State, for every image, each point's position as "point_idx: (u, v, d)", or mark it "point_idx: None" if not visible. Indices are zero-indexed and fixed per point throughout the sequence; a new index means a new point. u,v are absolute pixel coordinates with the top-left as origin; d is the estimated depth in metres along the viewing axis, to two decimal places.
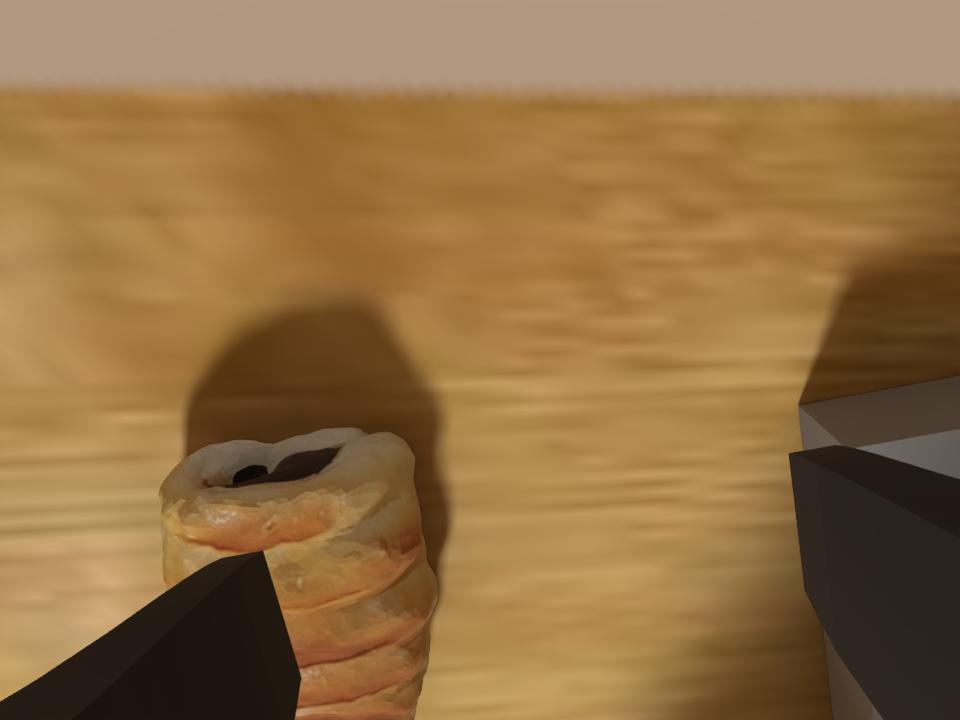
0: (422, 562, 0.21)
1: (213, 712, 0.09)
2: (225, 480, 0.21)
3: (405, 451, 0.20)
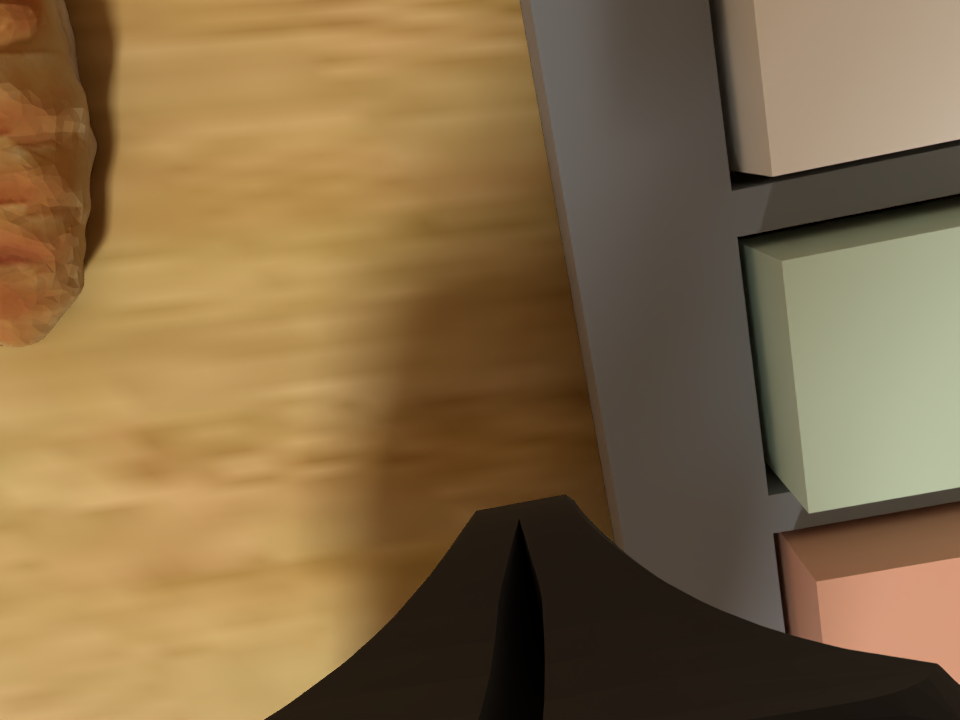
0: (52, 52, 0.17)
1: (528, 656, 0.09)
2: None
3: None
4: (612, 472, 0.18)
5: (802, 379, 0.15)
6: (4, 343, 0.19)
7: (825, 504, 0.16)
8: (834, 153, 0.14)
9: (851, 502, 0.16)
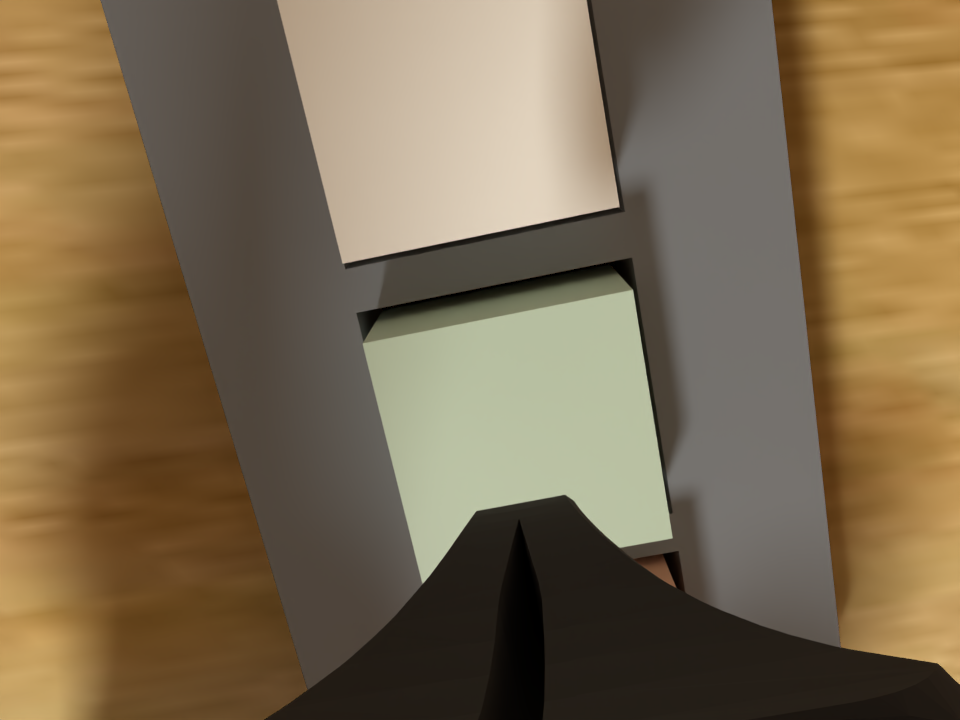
0: None
1: (528, 656, 0.09)
2: None
3: None
4: (262, 537, 0.18)
5: (397, 455, 0.16)
6: None
7: None
8: (399, 241, 0.15)
9: None
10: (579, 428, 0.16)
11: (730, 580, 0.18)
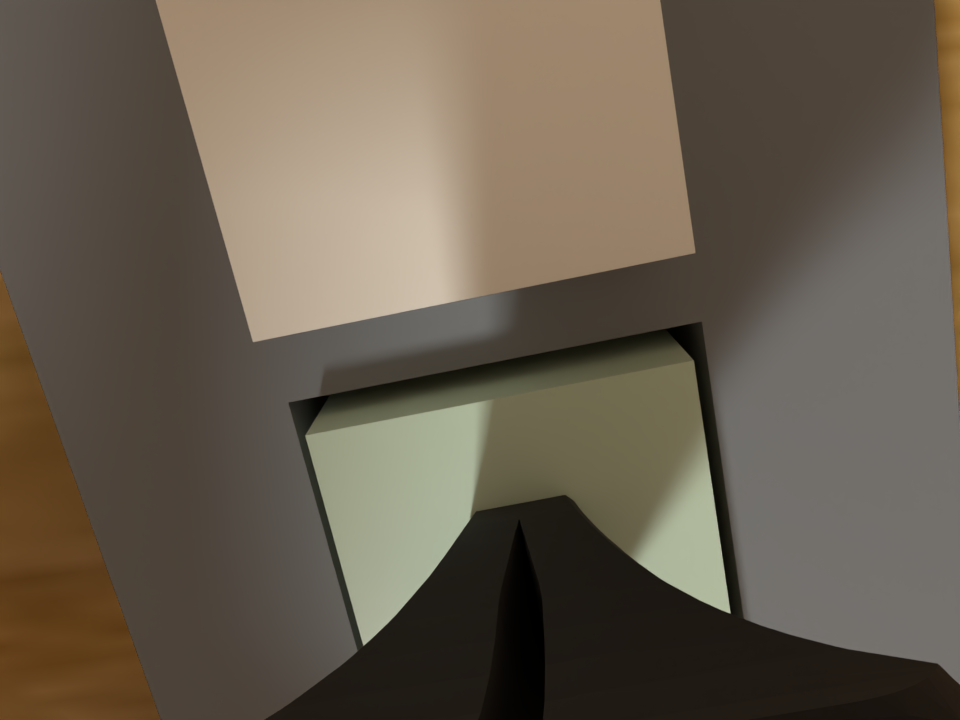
0: None
1: (529, 656, 0.09)
2: None
3: None
4: (160, 717, 0.13)
5: (358, 589, 0.11)
6: None
7: None
8: (343, 307, 0.09)
9: None
10: None
11: None
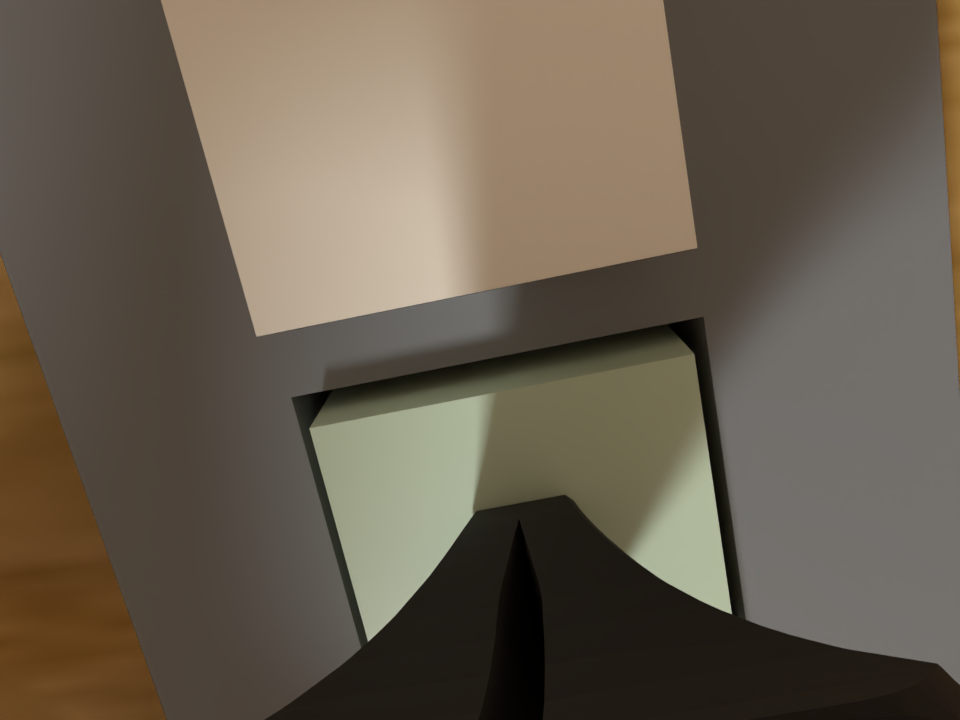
0: None
1: (529, 657, 0.09)
2: None
3: None
4: (164, 711, 0.13)
5: (361, 580, 0.11)
6: None
7: None
8: (346, 302, 0.09)
9: None
10: None
11: None
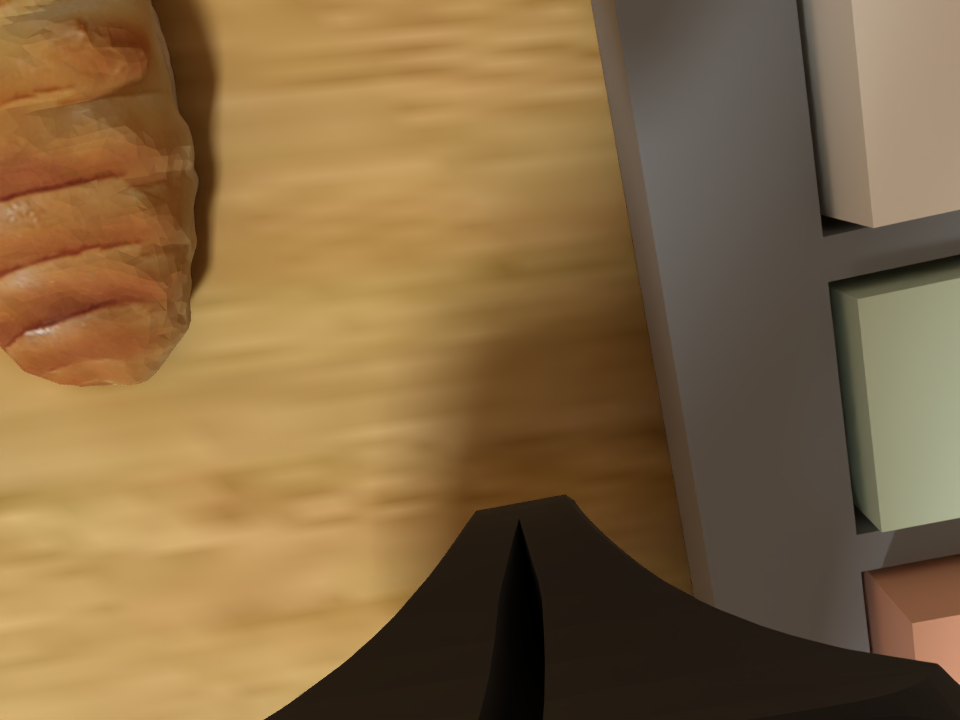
0: (160, 92, 0.17)
1: (528, 657, 0.09)
2: None
3: None
4: (701, 515, 0.18)
5: (875, 408, 0.17)
6: (116, 382, 0.19)
7: (897, 523, 0.17)
8: (935, 204, 0.14)
9: (921, 521, 0.17)
10: None
11: None
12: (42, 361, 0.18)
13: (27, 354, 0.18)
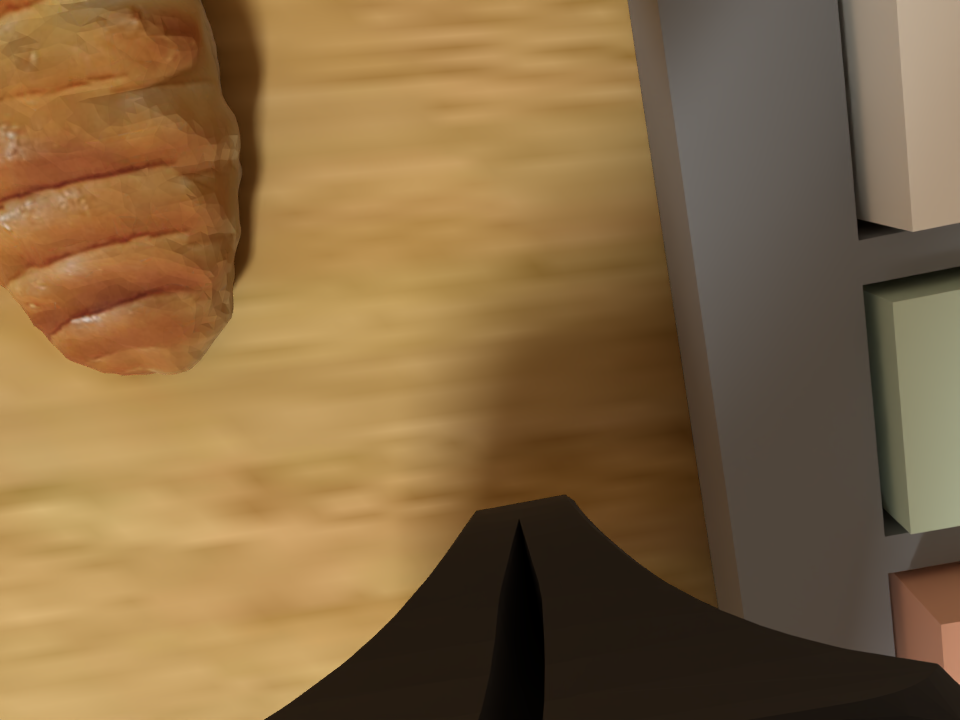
0: (209, 81, 0.17)
1: (529, 658, 0.09)
2: None
3: None
4: (731, 514, 0.18)
5: (908, 410, 0.17)
6: (159, 371, 0.19)
7: (927, 525, 0.17)
8: None
9: (950, 524, 0.17)
10: None
11: None
12: (87, 349, 0.18)
13: (72, 342, 0.18)
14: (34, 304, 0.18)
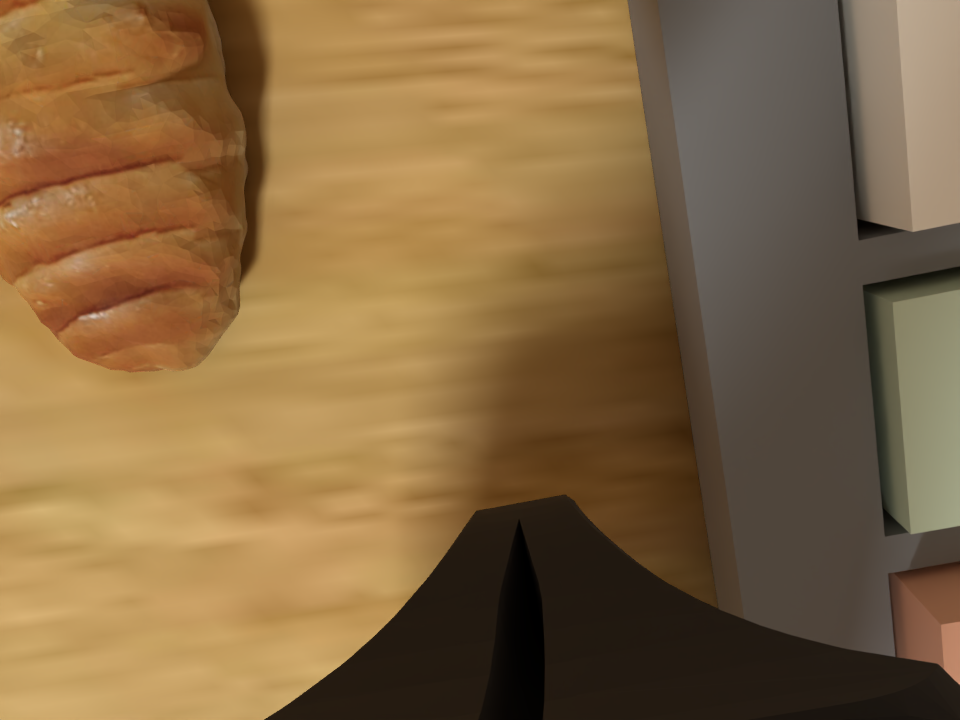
0: (215, 77, 0.17)
1: (529, 658, 0.09)
2: None
3: None
4: (731, 514, 0.18)
5: (908, 410, 0.17)
6: (167, 367, 0.19)
7: (927, 525, 0.17)
8: None
9: (950, 524, 0.17)
10: None
11: None
12: (94, 346, 0.18)
13: (80, 339, 0.18)
14: (41, 301, 0.18)
